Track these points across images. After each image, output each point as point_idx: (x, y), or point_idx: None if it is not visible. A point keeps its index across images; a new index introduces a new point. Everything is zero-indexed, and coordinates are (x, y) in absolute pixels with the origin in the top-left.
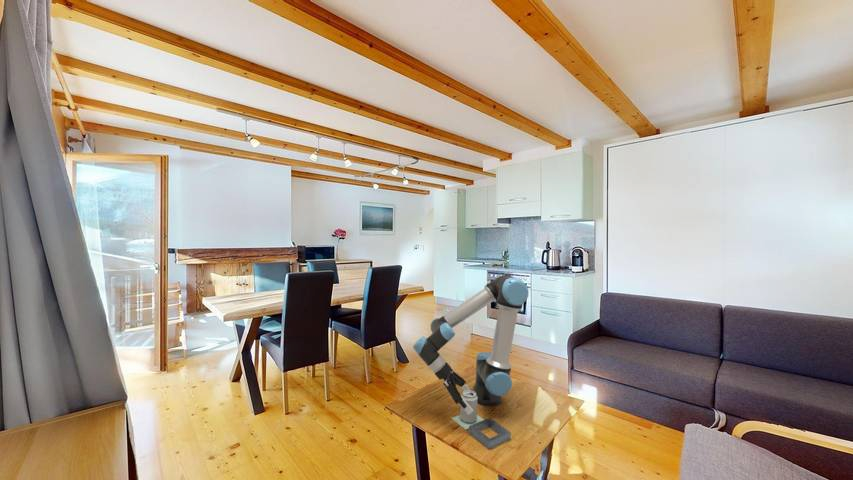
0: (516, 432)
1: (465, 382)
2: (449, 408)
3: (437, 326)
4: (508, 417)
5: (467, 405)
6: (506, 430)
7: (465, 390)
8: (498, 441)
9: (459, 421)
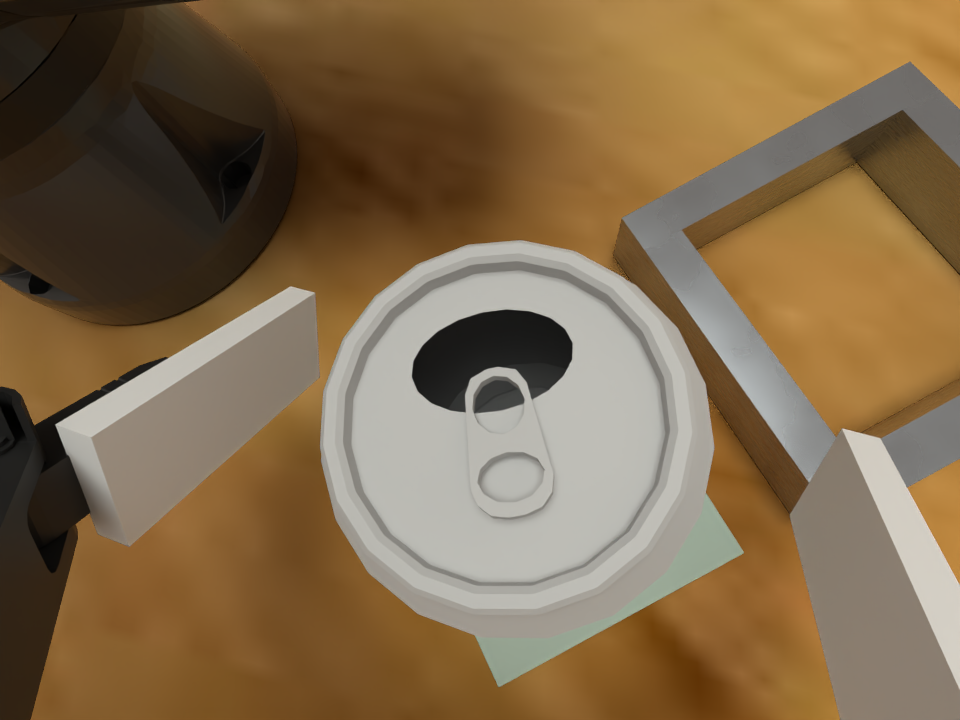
0: (739, 47)
1: (15, 410)
2: (267, 651)
3: None
4: (495, 62)
5: (935, 570)
6: (880, 96)
7: (340, 484)
8: None
9: None
